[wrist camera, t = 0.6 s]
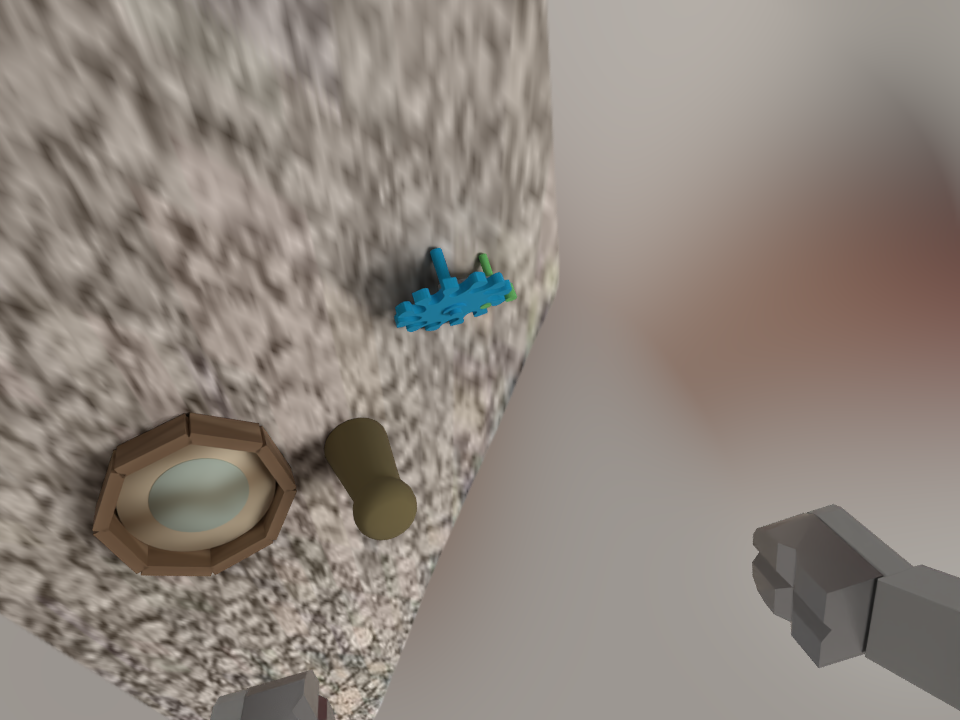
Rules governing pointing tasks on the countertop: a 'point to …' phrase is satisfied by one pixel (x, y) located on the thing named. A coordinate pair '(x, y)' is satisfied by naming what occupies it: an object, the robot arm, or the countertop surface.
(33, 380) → the countertop surface
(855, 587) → the robot arm
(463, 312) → the gear
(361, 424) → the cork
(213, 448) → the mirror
